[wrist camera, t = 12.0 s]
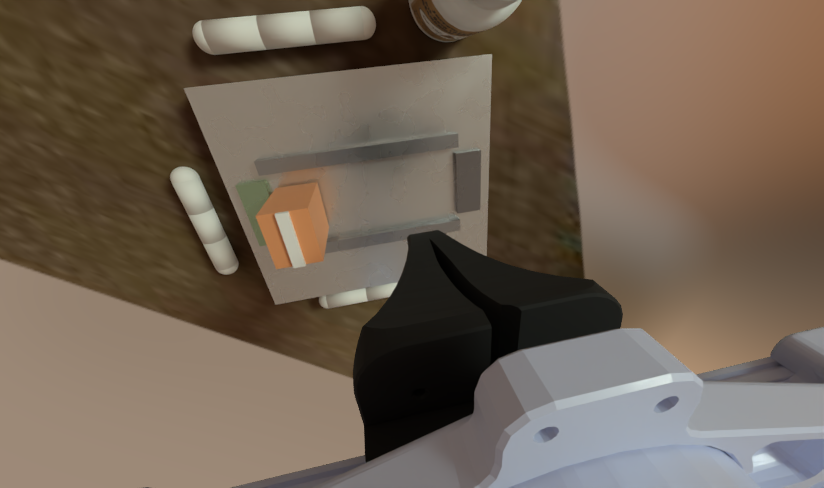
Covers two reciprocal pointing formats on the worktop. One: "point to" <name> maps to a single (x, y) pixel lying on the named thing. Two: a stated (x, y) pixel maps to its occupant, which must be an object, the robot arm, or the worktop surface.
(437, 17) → the pill bottle
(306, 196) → the lever
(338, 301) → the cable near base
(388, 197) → the breaker panel
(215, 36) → the rod
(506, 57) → the worktop surface
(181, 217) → the worktop surface
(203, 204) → the rod
